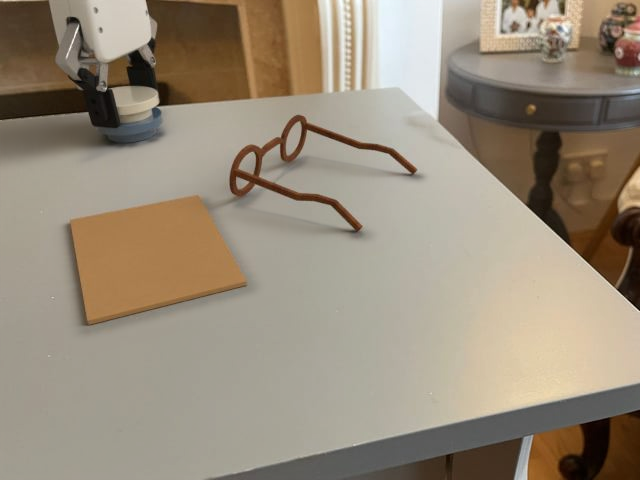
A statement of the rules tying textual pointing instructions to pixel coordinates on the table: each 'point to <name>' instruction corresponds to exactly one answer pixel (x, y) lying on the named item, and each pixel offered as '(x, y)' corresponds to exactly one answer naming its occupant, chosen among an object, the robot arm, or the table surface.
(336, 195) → the table surface
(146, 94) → the top plate
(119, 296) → the mat
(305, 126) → the glasses
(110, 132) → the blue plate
